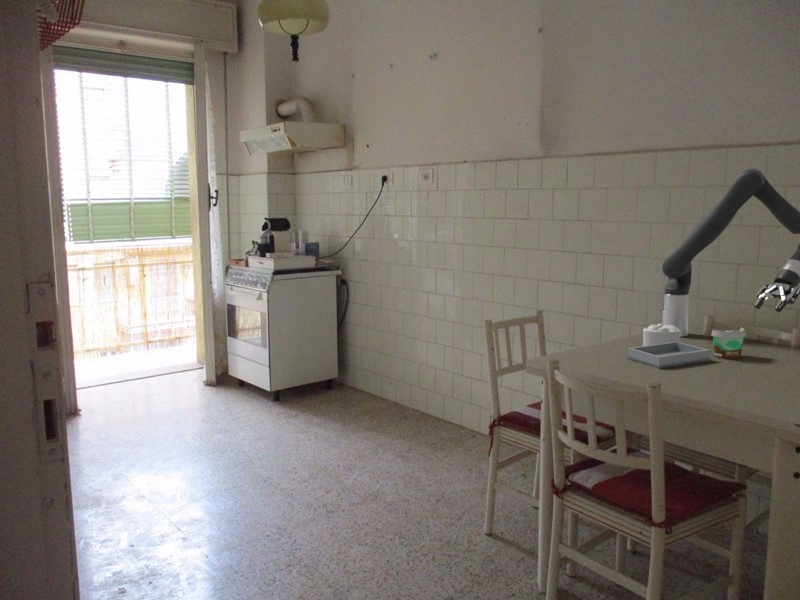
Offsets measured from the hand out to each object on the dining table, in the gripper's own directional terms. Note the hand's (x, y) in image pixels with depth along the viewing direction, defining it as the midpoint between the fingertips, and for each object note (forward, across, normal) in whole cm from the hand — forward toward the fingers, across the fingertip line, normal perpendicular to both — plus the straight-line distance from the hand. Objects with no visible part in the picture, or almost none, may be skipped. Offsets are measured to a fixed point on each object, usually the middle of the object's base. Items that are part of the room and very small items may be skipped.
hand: (766, 309), depth 240 cm
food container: (+22, 0, 0) cm, 23 cm away
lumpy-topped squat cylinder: (+29, -25, -6) cm, 39 cm away
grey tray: (+37, -8, -15) cm, 41 cm away
